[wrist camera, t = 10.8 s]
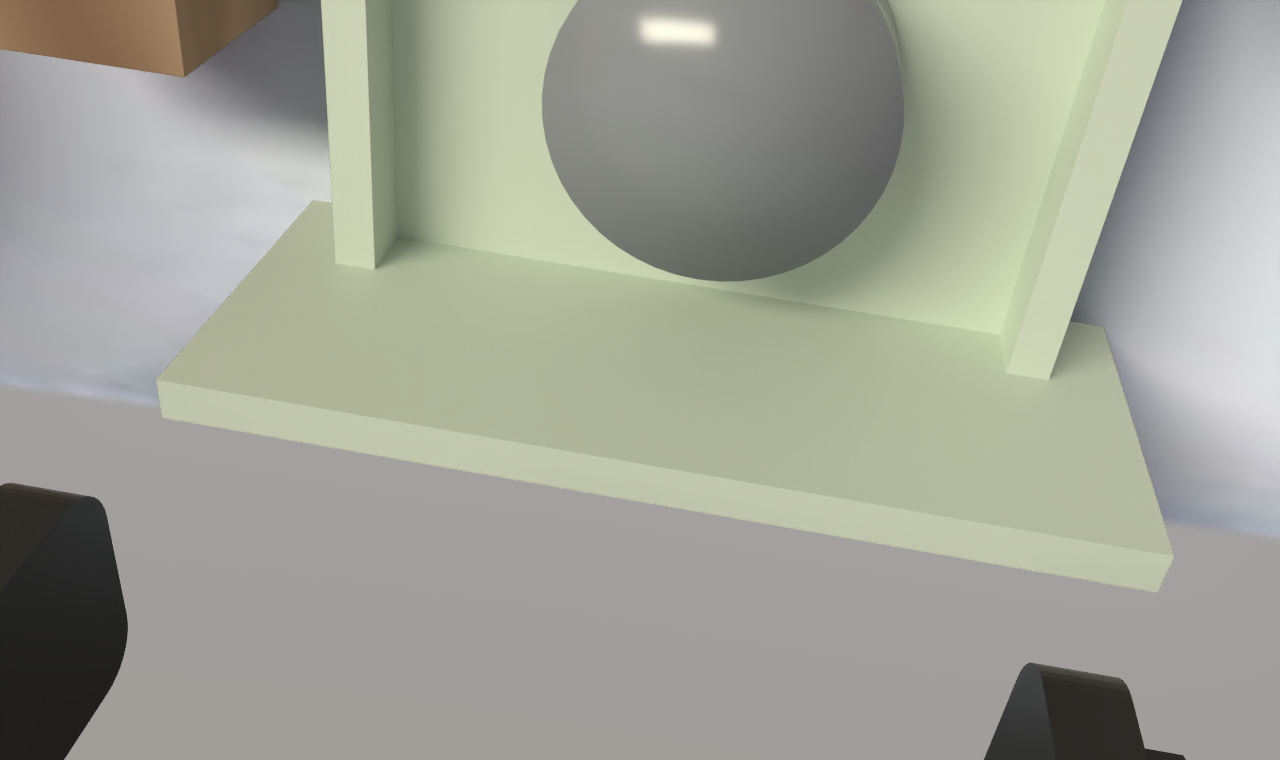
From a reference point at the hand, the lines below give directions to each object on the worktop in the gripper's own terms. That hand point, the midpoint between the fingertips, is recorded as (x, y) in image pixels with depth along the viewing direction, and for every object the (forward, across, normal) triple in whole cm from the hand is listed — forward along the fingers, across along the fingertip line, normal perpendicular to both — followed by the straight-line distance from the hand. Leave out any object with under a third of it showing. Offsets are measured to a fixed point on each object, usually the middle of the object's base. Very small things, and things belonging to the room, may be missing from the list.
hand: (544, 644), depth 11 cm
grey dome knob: (+14, 0, 0) cm, 14 cm away
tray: (+15, 0, -2) cm, 16 cm away
